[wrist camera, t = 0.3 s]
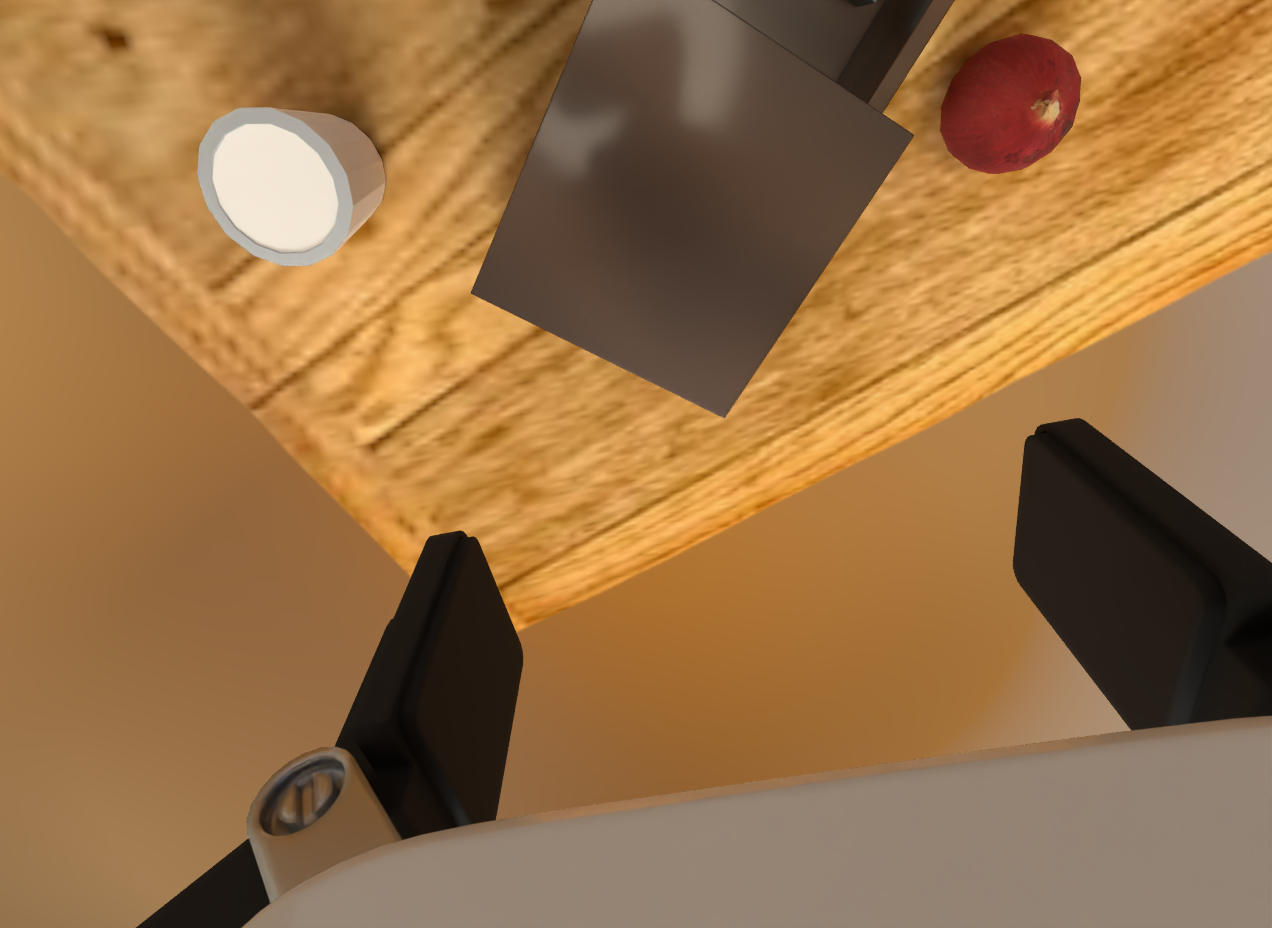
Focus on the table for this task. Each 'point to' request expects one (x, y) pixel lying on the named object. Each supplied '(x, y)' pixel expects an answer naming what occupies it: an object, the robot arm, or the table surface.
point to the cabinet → (683, 195)
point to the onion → (1010, 104)
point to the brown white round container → (289, 182)
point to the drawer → (850, 38)
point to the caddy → (861, 2)
